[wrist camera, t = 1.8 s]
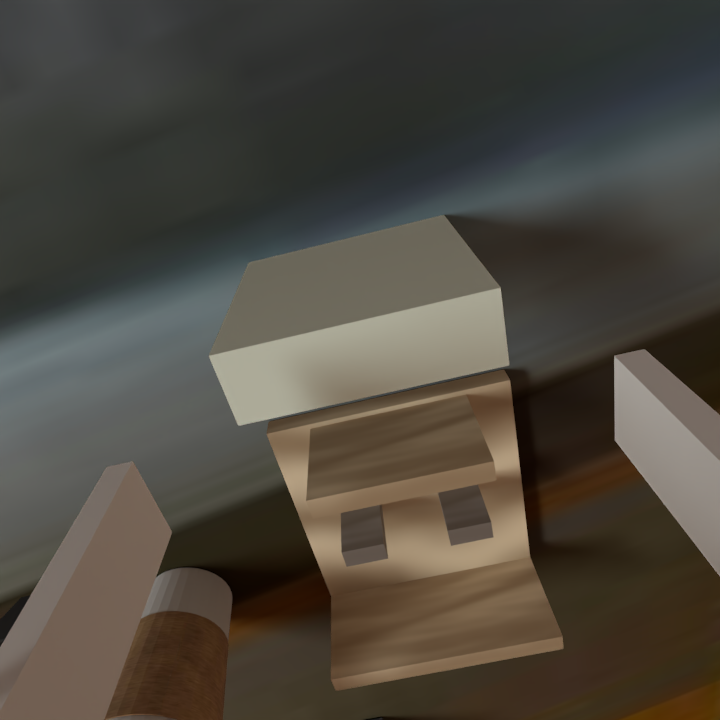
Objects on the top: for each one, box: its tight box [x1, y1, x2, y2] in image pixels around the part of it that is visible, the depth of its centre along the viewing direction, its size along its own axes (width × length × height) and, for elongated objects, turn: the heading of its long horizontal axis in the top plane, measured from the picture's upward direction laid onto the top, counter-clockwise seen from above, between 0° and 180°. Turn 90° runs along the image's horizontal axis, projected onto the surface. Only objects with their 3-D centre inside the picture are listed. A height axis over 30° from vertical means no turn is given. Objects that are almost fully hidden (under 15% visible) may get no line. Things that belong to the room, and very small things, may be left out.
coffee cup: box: [104, 567, 232, 720], centre depth 32 cm, size 8×8×15 cm
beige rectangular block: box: [209, 215, 509, 426], centre depth 23 cm, size 3×10×10 cm, turn 103°
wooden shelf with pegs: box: [267, 369, 563, 691], centre depth 32 cm, size 16×14×7 cm
